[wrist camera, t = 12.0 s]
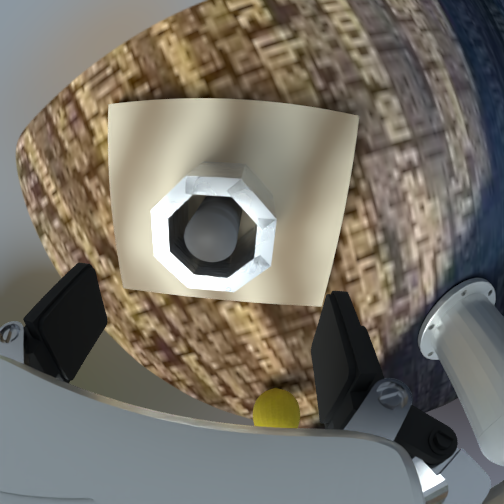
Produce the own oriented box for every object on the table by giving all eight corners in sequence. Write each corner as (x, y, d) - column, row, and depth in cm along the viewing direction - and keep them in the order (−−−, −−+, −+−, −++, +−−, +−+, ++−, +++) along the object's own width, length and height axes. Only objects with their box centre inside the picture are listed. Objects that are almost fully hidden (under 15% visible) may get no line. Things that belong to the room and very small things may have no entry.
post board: (352, 116, 18) (390, 117, 12) (318, 296, 25) (332, 347, 19) (117, 104, 17) (69, 105, 12) (129, 279, 25) (100, 323, 19)
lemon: (250, 378, 31) (248, 435, 24) (296, 373, 30) (302, 431, 23) (256, 400, 33) (255, 451, 26) (298, 397, 33) (302, 448, 26)
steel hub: (275, 166, 18) (280, 182, 14) (265, 256, 21) (267, 294, 17) (175, 160, 18) (149, 175, 14) (177, 249, 21) (157, 284, 17)
